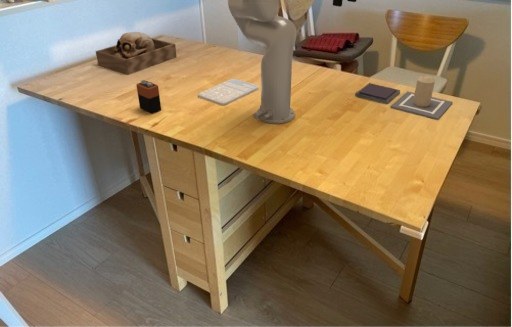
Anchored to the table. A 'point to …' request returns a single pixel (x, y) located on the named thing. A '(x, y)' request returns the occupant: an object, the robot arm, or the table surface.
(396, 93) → the ink pad
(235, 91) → the calculator
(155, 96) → the battery
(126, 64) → the wooden tray
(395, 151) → the table surface
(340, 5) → the robot arm
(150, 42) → the brown skull
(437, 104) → the marked board
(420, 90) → the candle
